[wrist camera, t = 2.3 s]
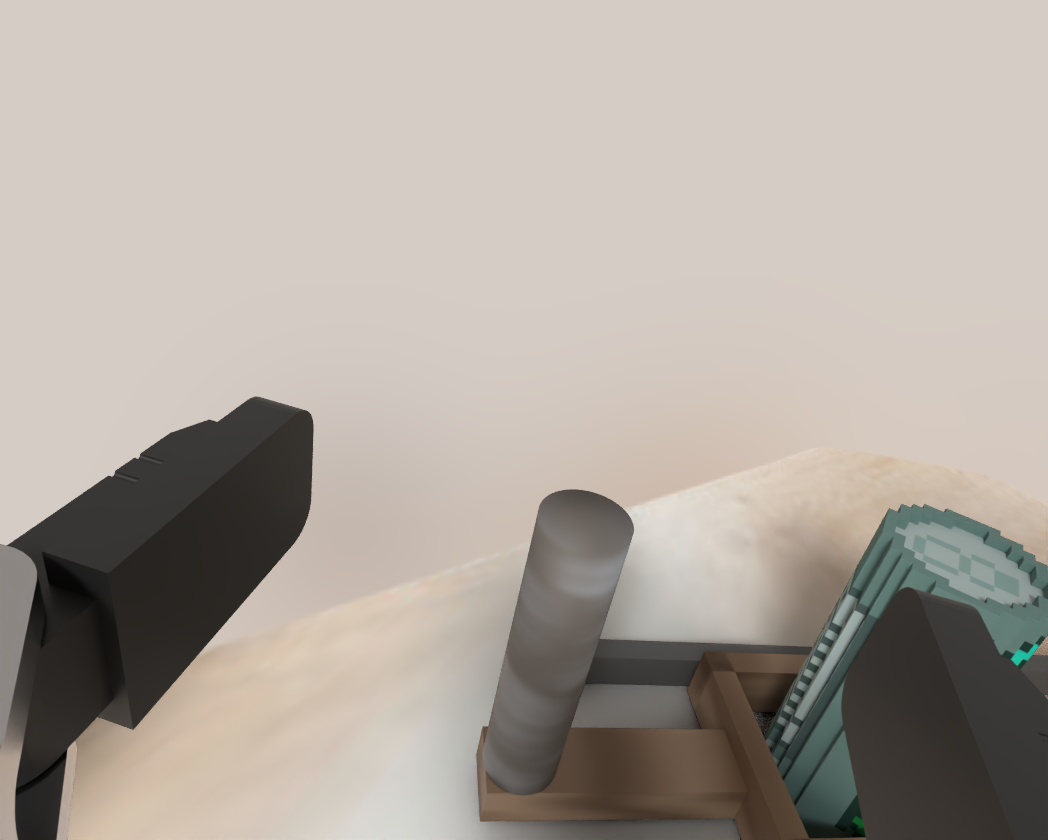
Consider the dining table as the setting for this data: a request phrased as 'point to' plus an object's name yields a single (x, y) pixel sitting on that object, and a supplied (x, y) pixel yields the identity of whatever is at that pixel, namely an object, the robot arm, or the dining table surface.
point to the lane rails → (682, 659)
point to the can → (886, 567)
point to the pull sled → (620, 753)
